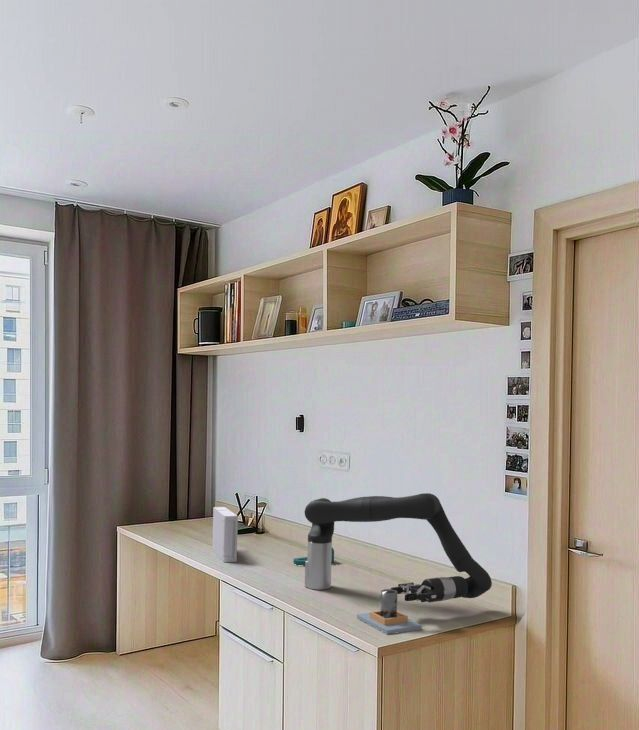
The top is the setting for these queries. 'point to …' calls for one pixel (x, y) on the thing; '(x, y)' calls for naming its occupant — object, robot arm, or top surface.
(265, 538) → the top surface
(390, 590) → the grey capped cylinder
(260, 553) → the top surface
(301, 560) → the bracket
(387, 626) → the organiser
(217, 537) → the game console
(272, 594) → the top surface
